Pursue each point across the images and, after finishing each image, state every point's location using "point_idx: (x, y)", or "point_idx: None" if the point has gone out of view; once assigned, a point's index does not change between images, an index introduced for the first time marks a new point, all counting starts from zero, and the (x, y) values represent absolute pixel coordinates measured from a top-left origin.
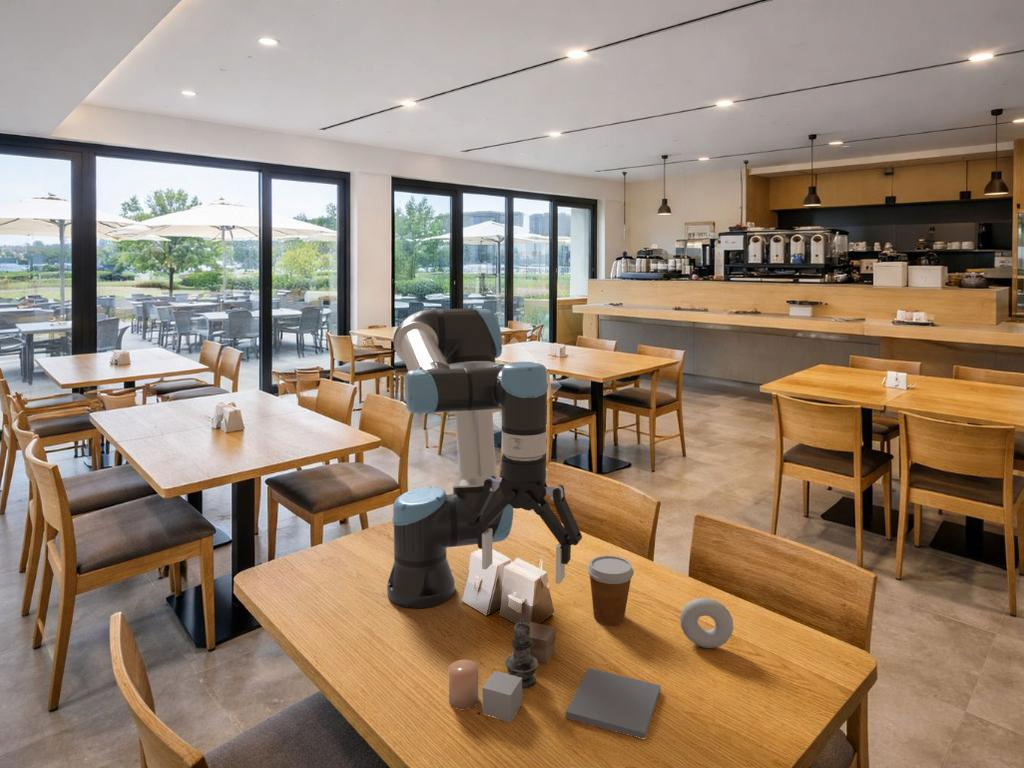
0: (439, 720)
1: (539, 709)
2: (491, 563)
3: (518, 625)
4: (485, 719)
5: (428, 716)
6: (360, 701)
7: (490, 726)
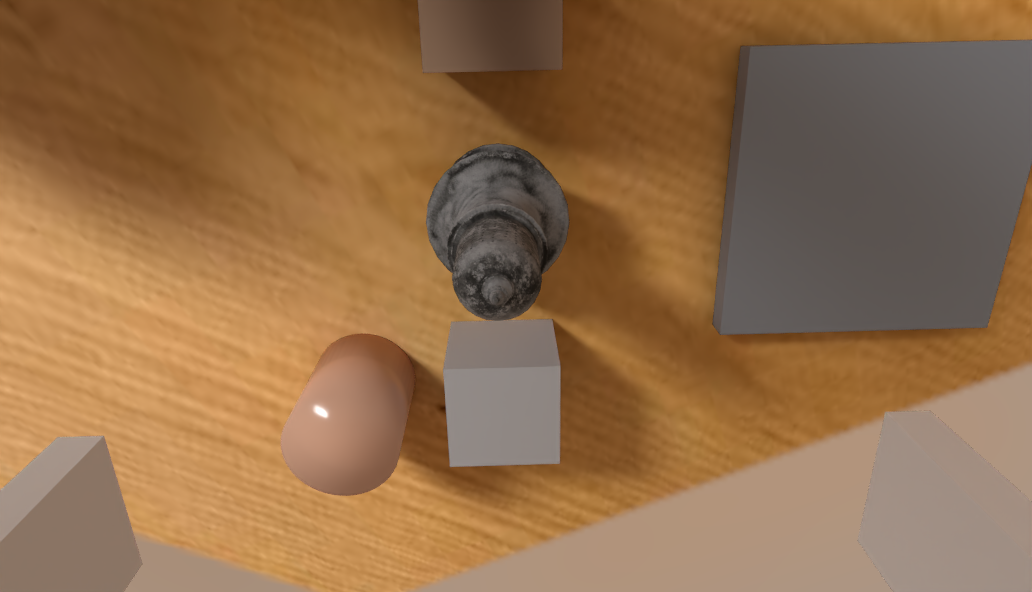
0: None
1: (617, 320)
2: (106, 460)
3: (485, 308)
4: None
5: None
6: None
7: None
